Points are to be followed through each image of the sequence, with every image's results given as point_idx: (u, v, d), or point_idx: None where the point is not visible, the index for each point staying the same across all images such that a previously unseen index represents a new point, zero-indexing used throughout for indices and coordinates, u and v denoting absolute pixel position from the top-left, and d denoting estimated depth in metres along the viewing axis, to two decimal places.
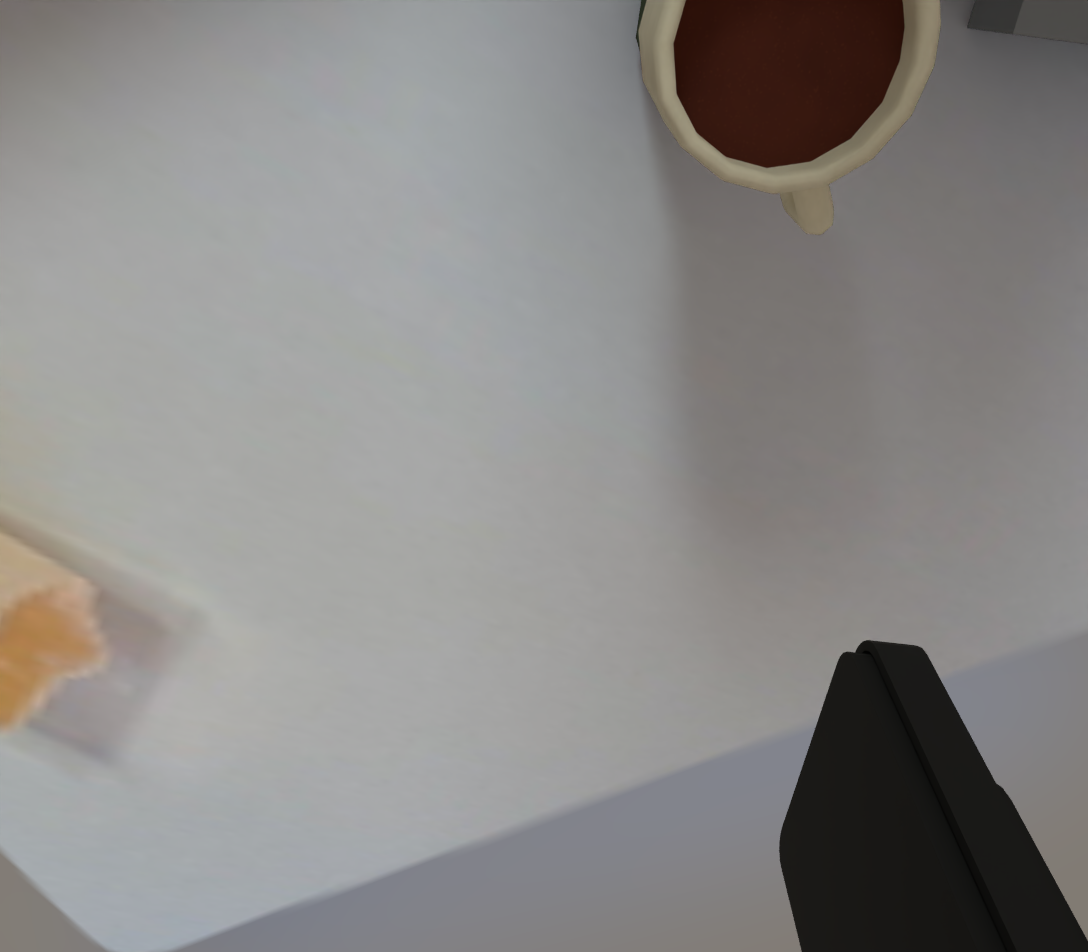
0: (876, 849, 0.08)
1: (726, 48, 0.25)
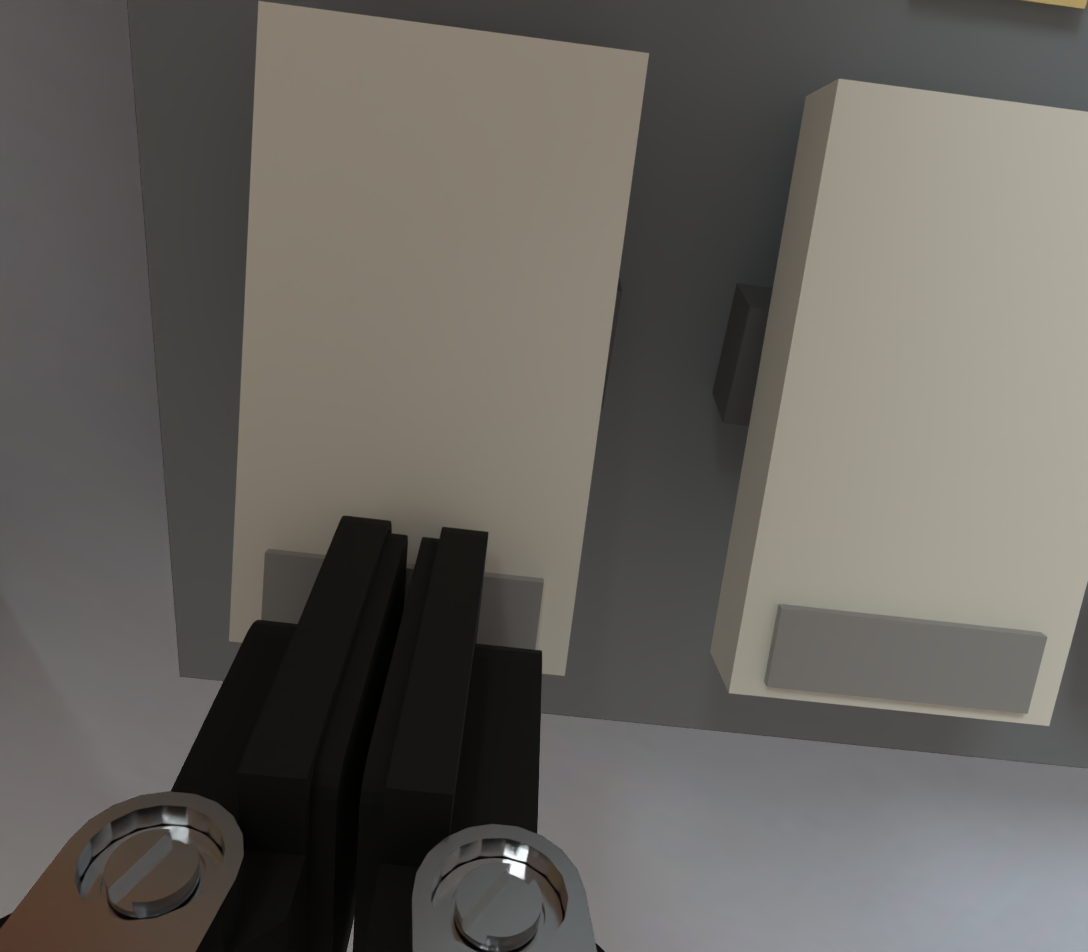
0: None
1: None
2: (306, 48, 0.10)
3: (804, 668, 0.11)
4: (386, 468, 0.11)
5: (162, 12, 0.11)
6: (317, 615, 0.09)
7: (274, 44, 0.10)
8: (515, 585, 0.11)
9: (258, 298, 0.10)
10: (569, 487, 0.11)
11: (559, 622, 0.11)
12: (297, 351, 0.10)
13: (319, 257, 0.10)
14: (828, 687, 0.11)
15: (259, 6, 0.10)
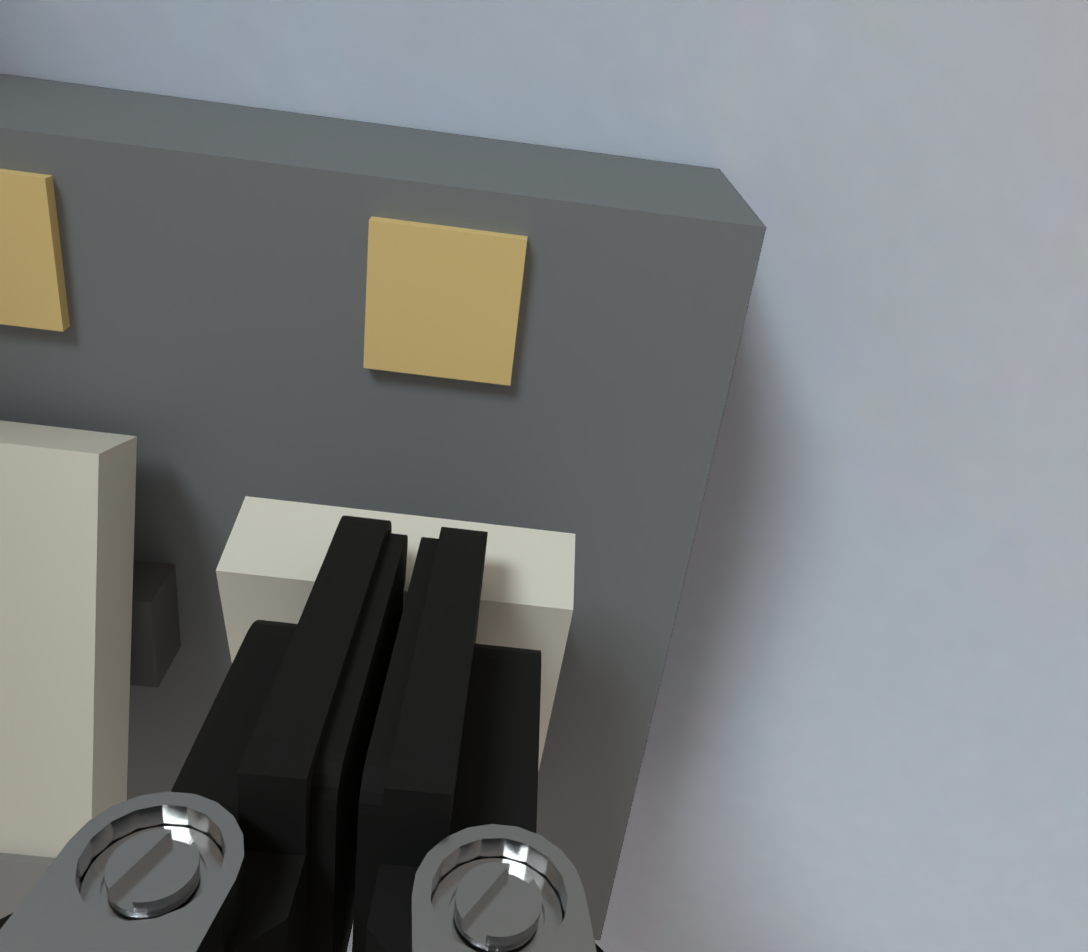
0: None
1: None
2: None
3: None
4: None
5: None
6: (317, 615, 0.09)
7: None
8: None
9: None
10: None
11: None
12: None
13: None
14: None
15: None
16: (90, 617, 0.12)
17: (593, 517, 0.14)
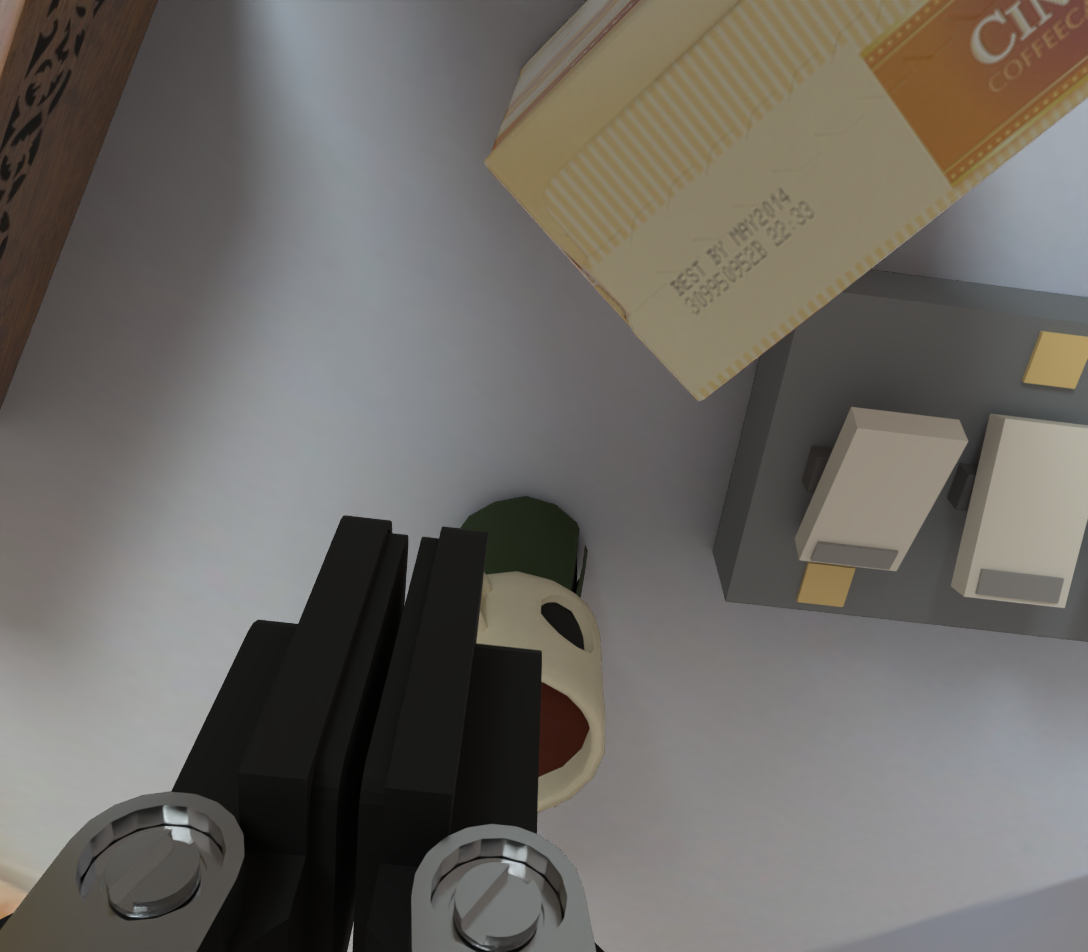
0: None
1: None
2: (867, 438, 0.34)
3: (988, 588, 0.37)
4: (859, 525, 0.37)
5: (791, 385, 0.37)
6: (317, 615, 0.09)
7: (858, 437, 0.34)
8: (889, 553, 0.38)
9: (835, 489, 0.35)
10: (912, 531, 0.37)
11: (898, 559, 0.38)
12: (842, 500, 0.36)
13: (855, 481, 0.35)
14: (995, 594, 0.37)
15: (857, 429, 0.34)
16: None
17: None
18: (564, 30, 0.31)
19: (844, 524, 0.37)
